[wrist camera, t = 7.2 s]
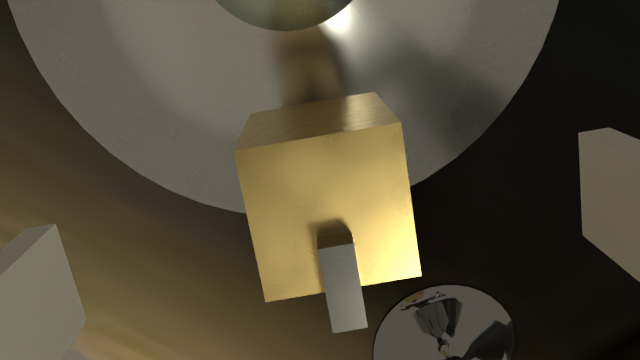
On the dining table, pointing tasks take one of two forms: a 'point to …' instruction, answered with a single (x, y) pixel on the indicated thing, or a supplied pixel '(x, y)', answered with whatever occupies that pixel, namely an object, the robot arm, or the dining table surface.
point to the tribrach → (275, 73)
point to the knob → (328, 201)
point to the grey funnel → (446, 327)
